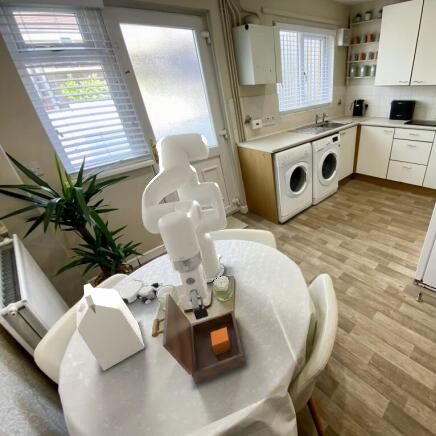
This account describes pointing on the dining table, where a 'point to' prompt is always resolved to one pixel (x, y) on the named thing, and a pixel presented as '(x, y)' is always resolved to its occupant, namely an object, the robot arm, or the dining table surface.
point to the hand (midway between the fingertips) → (201, 304)
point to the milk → (107, 326)
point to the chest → (203, 351)
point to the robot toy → (138, 291)
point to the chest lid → (175, 334)
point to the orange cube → (220, 341)
